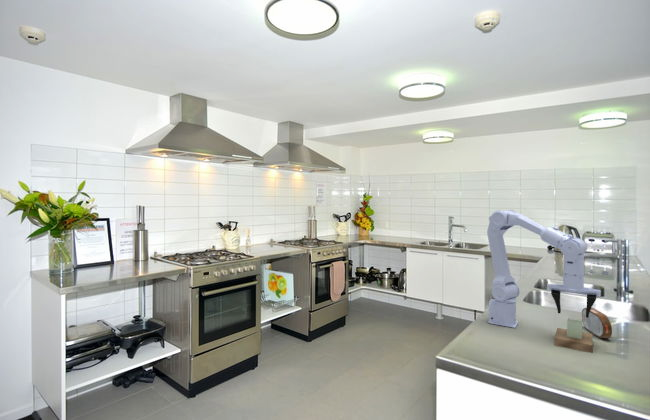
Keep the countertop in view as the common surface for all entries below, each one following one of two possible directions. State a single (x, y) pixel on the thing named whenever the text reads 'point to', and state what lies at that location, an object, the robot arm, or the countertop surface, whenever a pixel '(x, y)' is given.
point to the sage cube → (574, 328)
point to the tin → (597, 323)
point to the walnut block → (574, 341)
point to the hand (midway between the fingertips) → (572, 314)
